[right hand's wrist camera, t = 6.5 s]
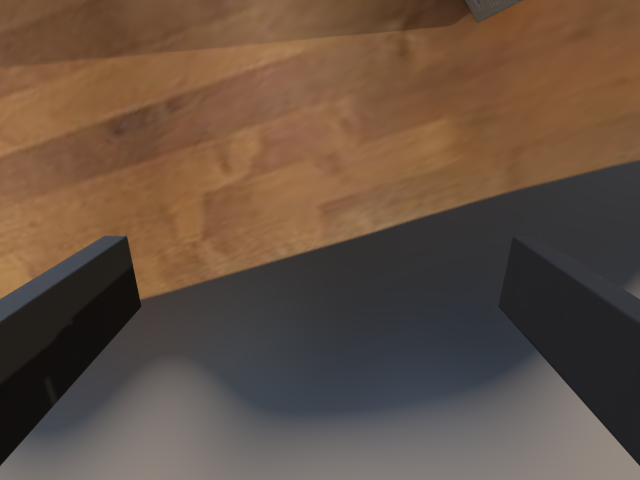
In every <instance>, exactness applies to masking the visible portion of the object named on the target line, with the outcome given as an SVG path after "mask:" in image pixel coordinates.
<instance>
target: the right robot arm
mask: <svg viewBox="0 0 640 480" xmlns="http://www.w3.org/2000/svg"><path fill="white" fill-rule="evenodd" d="M140 307H141V303H140V298H139V293H138V288H137V283H136V278H135V274H134V269H133V264H132V259H131V254H130V249H129V244H128V239H127V236H104V237H102V238H100V239H99V240H97V241H95V242H94V243H92V244H91V245H89V246H87V247H86V248H84V249H82V250H81V251H79V252H77V253H76V254H74V255H72V256H71V257H69V258H67V259H66V260H64V261H63V262H61V263H59V264H58V265H56V266H54V267H53V268H51V269H49V270H48V271H46V272H44V273H43V274H41V275H40V276H38V277H36V278H35V279H33V280H31V281H30V282H28V283H26V284H25V285H23V286H21V287H20V288H18V289H16V290H15V291H13V292H12V293H10V294H8V295H7V296H5V297H3V298H2V299H0V465H1V464H2V463H3V462H4V461H5V460H6V459H7V458H8V456H9V455H10V454H11V453H12V452H13V451H14V450H15V449H16V447H17V446H18V445H19V444H20V443H21V442H22V441H23V440H24V438H25V437H26V436H27V435H28V434H29V433H30V432H31V430H32V429H33V428H34V427H35V426H36V425H37V424H38V423H39V421H40V420H41V419H42V418H43V417H44V416H45V415H46V414H47V412H48V411H49V410H50V409H51V408H52V407H53V406H54V404H55V403H56V402H57V401H58V400H59V399H60V398H61V397H62V395H63V394H64V393H65V392H66V391H67V390H68V389H69V388H70V386H71V385H72V384H73V383H74V382H75V381H76V380H77V379H78V377H79V376H80V375H81V374H82V373H83V372H84V371H85V370H86V368H87V367H88V366H89V365H90V364H91V363H92V362H93V360H94V359H95V358H96V357H97V356H98V355H99V354H100V353H101V351H102V350H103V349H104V348H105V347H106V346H107V345H108V344H109V342H110V341H111V340H112V339H113V338H114V337H115V336H116V335H117V333H118V332H119V331H120V330H121V329H122V328H123V327H124V326H125V324H126V323H127V322H128V321H129V320H130V319H131V318H132V316H133V315H134V314H135V313H136V312H137V311H138V310H139V309H140ZM499 307H500V309H501V310H502V311H503V312H504V313H505V314H506V315H507V316H508V318H509V319H510V320H511V321H512V322H513V323H514V324H515V326H516V327H517V328H518V329H519V330H520V331H521V332H522V333H523V335H524V336H525V337H526V338H527V339H528V340H529V341H530V342H531V344H532V345H533V346H534V347H535V348H536V349H537V350H538V352H539V353H540V354H541V355H542V356H543V357H544V358H545V359H546V361H547V362H548V363H549V364H550V365H551V366H552V367H553V368H554V369H555V371H556V372H557V373H558V374H559V375H560V376H561V377H562V379H563V380H564V381H565V382H566V383H567V384H568V385H569V386H570V388H571V389H572V390H573V391H574V392H575V393H576V394H577V395H578V397H579V398H580V399H581V400H582V401H583V402H584V403H585V405H586V406H587V407H588V408H589V409H590V410H591V411H592V412H593V414H594V415H595V416H596V417H597V418H598V419H599V420H600V421H601V423H602V424H603V425H604V426H605V427H606V428H607V429H608V430H609V432H610V433H611V434H612V435H613V436H614V437H615V438H616V440H617V441H618V442H619V443H620V444H621V445H622V446H623V447H624V449H625V450H626V451H627V452H628V453H629V454H630V455H631V456H632V458H633V459H634V460H635V461H636V462H637V463H638V464H639V465H640V299H638V298H637V297H635V296H633V295H632V294H630V293H628V292H627V291H625V290H624V289H622V288H620V287H618V286H617V285H615V284H614V283H612V282H610V281H609V280H607V279H605V278H604V277H602V276H600V275H599V274H597V273H596V272H594V271H592V270H591V269H589V268H587V267H586V266H584V265H582V264H581V263H579V262H577V261H576V260H574V259H573V258H571V257H569V256H568V255H566V254H564V253H563V252H561V251H559V250H558V249H556V248H554V247H553V246H551V245H549V244H548V243H546V242H545V241H543V240H541V239H540V238H538V237H536V236H513V239H512V244H511V249H510V254H509V259H508V264H507V269H506V274H505V278H504V283H503V288H502V293H501V298H500V303H499Z"/></svg>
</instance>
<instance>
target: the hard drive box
mask: <svg viewBox="0 0 640 480" xmlns="http://www.w3.org/2000/svg"><path fill="white" fill-rule="evenodd" d="M521 1H523V0H465V2H466V4H467V5H468V7H469V9H470V11H471V12H472V14H473V16H474V18H475V19H476V21H477V22H480V21H483V20H485V19H487V18H489V17H491V16H493V15H495V14H497V13H499V12H501V11H503V10H505V9H507V8H509V7H511V6H513V5H515V4H517V3H519V2H521Z"/></svg>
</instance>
